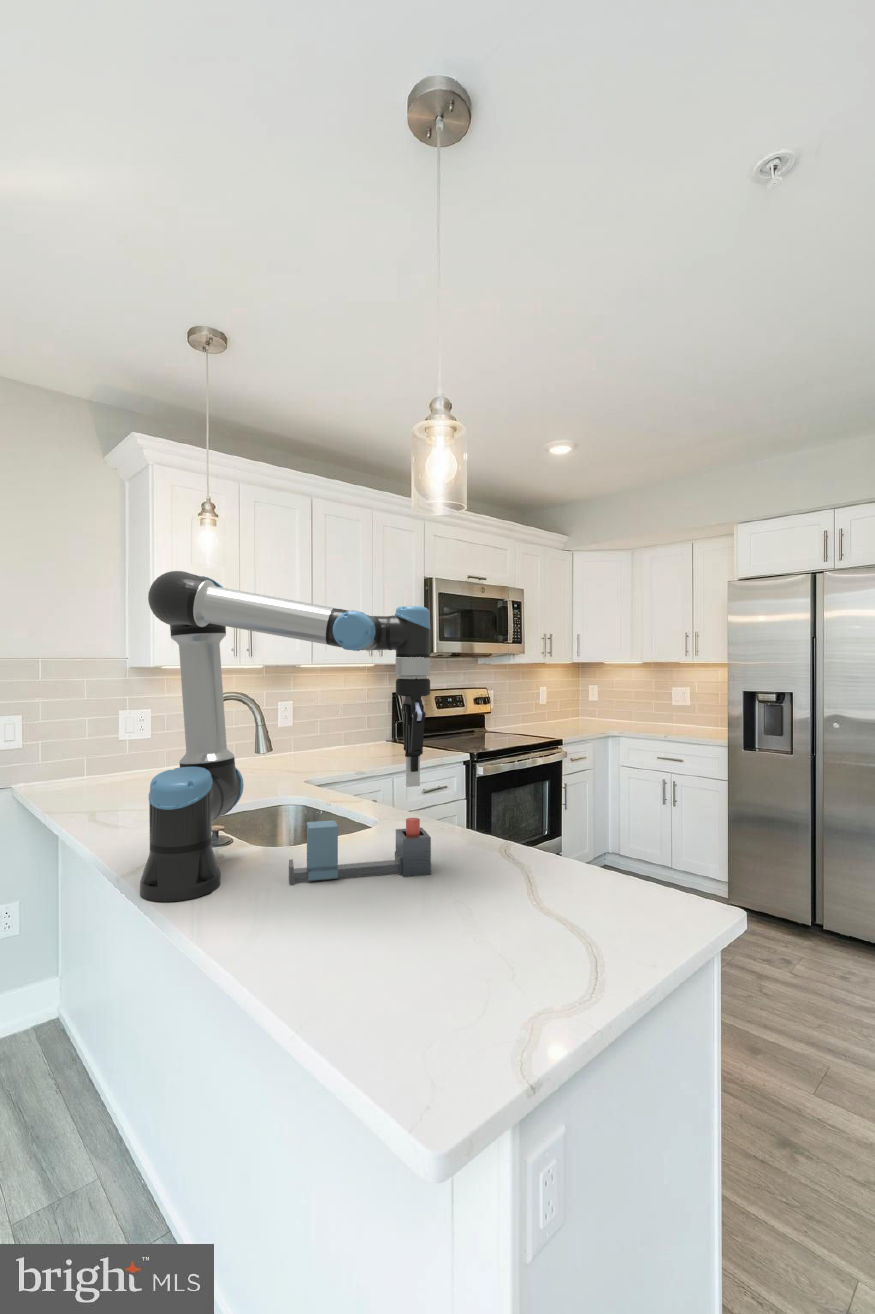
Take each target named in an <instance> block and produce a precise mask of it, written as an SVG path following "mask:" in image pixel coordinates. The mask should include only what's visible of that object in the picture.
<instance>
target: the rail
mask: <svg viewBox="0 0 875 1314" xmlns="http://www.w3.org/2000/svg"><path fill="white" fill-rule="evenodd" d="M397 874H398V875H399V876H402V858H401V856H400V855H399V853H398V852H397V851H396V850H395V851H394V859H391V860H390V859H389V860H379V861H378V860H377V861H366V862H355V863H354V862H353V863H343V864H338V878H332V879H321V880H310V881H308V868H307V866H306V867H294V860H293V859H288V880H289V882H288V883H289V886H293V885H295V884H296V883H297V884H298V883H307V882H319V881H320V882H321V881H330V880H341V879H351V878H353V879H354V878H363V877H364V878H365V877H374V876H387V875H397Z"/></svg>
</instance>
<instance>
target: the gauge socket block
mask: <svg viewBox="0 0 875 1314" xmlns="http://www.w3.org/2000/svg"><path fill="white" fill-rule="evenodd" d="M431 839H432V837H431V836H430V835H429V833H427V831H426V830H425V829H424V828H423V827H421V826H420V836H406V828H396V829H395V851H397V852H398V853H399V855H400V856H401V858H402V875H401V876H402V877H403V878H409V877H420V876H430V875H431V874H432V872H431V870H432V869H431V868H432V861H431V860H432V852H431V851H432V848H431V847H432V842H431V841H432V840H431Z"/></svg>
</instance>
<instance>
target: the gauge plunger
mask: <svg viewBox="0 0 875 1314" xmlns="http://www.w3.org/2000/svg"><path fill="white" fill-rule="evenodd" d="M420 822H421V821H420V818H417V817H408V818H406V819H405V829H406V836H420V828H421V823H420Z"/></svg>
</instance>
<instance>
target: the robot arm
mask: <svg viewBox="0 0 875 1314" xmlns="http://www.w3.org/2000/svg"><path fill="white" fill-rule="evenodd" d="M147 595H148V597H147V599H148V605H149V609H150V611H151V612H152V614H153V615H154V616H155V617H156V619H158V620H159V621H161V622H163V623H165V624H167V625H169V630H170V638H171V640H173V641H174V642H175V643H176V644H177V645H178V650H179V651H178V652H179V666H180V667H179V670H180V682H181V698H182V711H183V725H184V726H183V727H184V737H185V739H184V740H185V742H184V743H185V754H184V755H183V756H182V757H181V759H179V767H177V768H176V767H175V768H174V769H167V770H164V771H161V772H160V773H158V774H157V775H155V776H154V777H153V778H152V779H151V781H150V784H149V793H148V803H149V804H148V807H149V810H148V811H149V812H148V814H149V815H148V816H149V818H148V819H149V855H148V857H147V860H146V863H145V866H144V868H143V869H144V870H143V871H142V875H141V879H140V881H139V894H140V896H141V897H142V898H143V899H145V900H149V901H155V902H165V903H168V902H180V901H187V900H191V899H196V898H201V897H202V896H206V895H208V894H211V893H212V892H215V891H216V890H217V889H219V887H220V886H221V884H222V883H221V882H222V881H221V880H222V879H221V878H222V877H221V876H222V874H221V869H220V866H219V863H218V860H217V858H216V855H215V852H214V850H213V846H212V837H213V836H212V833H213V832H212V830H213V829H212V828H213V827H212V826H213V825H212V822H214V821H215V820H217V819H219V818H220V817H222V816H224V815H226V814H227V813H229V812H230V811H231V810H233V808H234V807H235V806H236V805H237V804H238V803H239V801H240V799H241V798H242V795H243V792H244V785H245V784H244V778H243V774H241V772H240V770H239V769H238V768H237V767H236V762H235V760H236V759H235V758H236V757H235V754H234V753H233V752H231V751H230V750H229V749H228V747H227V733H226V732H227V731H226V717H225V704H224V703H225V702H224V689H223V688H224V687H223V676H222V674H223V673H222V661H221V658H222V657H221V647H220V646H221V645H220V644H221V642H222V641H223V639H225V637H226V636H227V628H226V627H229V628H233V629H234V628H235V629H239V630H245V631H249V632H256V633H262V634H266V635H267V634H268V635H272V636H277V637H283V638H289V639H294V640H299V641H300V640H301V641H305V642H309V643H310V642H311V643H317V644H322V645H328V646H330V647H331V646H332V647H336V648H342V649H343V650H345V651H346V650H347V651H353V652H360V651H395V676H397V678H396V679H395V694H396V696H398V697H404V703H402V706H401V709H400V711H401V717H402V718H401V719H402V736H403V737H402V738H403V740H402V741H403V751H404V753H405V754H404V756H405V786H406V787H408V788H409V787H420V785H421V773H420V772H421V759H420V758H421V756H422V755H423V754H424V750H423V749H424V737H425V735H424V734H425V720H426V716H427V715H426V714H427V713H426V711H425V708H424V707H425V705H424V704H423V702H422V697H428V696H430V695H431V680H430V678H428V677H429V676H430V675H431V667H432V666H433V662H432V661H431V617H430V615H431V613H430V610H429V608H427V607H425V606H417V605H411V606H410V605H409V606H408V605H406V606H404V605H403V606H398V607H397V608H396V609H395V614H394V615H388V616H386V615H385V616H383V615H369V614H366V613H365V612H362V611H359V610H350V609H349V610H347V609H342V608H336V607H331V606H327V605H326V606H325V605H320V604H314V603H309V602H303V601H299V600H292V599H286V598H281V597H276V596H270V595H265V594H260V593H259V594H258V593H255V592H248V591H243V590H238V589H232V588H228V587H224V586H223V585H222V584H220V583H219V582H217V581H215V580H214V579H212V578H210V577H208V576H203V575H202V576H201V575H197V574H194V573H190V572H186V571H181V570H172V571H167V572H165V573H163V574H161V575H160V576H158V577H157V578H156V579H155V580H154V581H153V582H152V583H151V585H150V588H149V590H148V594H147Z"/></svg>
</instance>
